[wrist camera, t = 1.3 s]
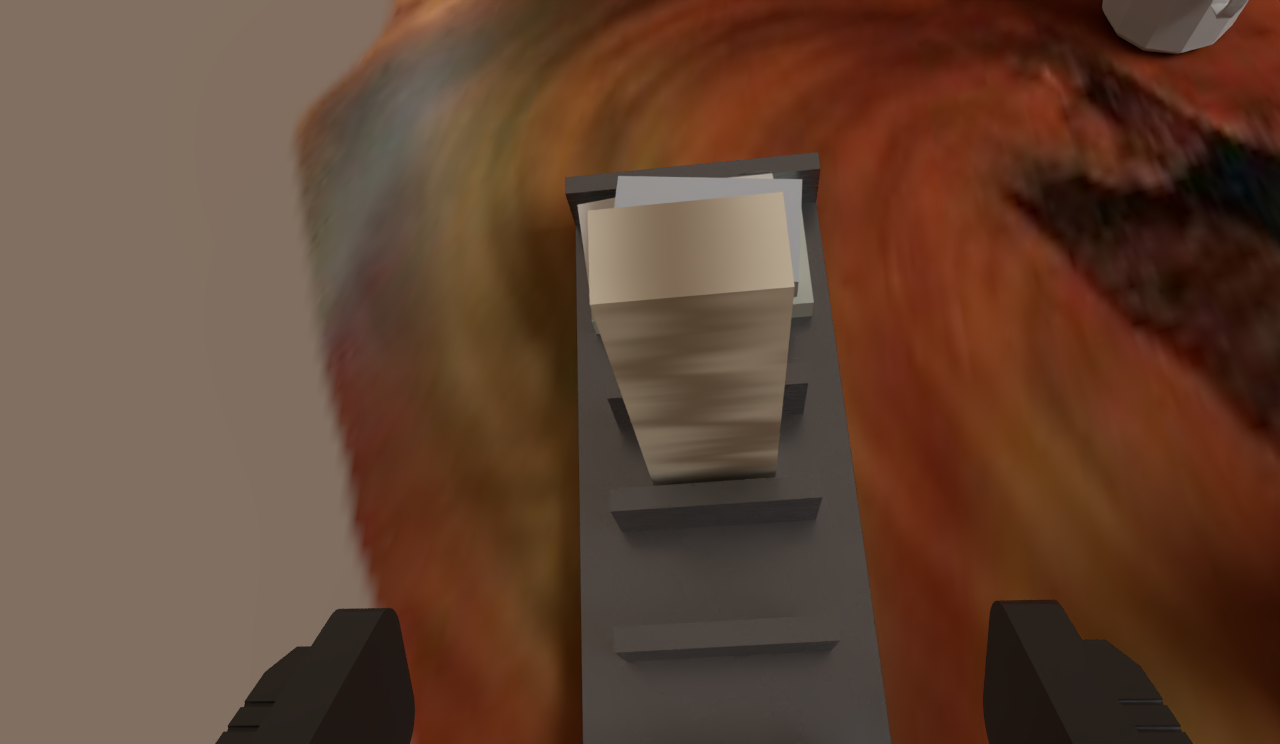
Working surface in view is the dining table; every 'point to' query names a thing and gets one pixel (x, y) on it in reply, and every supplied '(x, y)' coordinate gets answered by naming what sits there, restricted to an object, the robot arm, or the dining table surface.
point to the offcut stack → (698, 188)
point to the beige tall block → (697, 330)
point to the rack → (725, 550)
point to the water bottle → (1171, 22)
